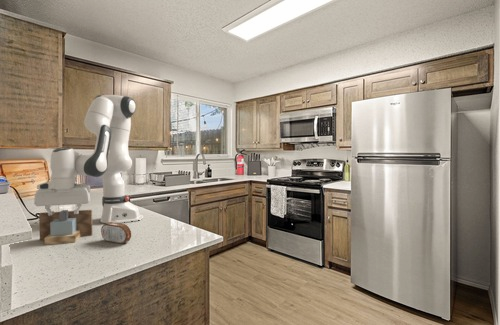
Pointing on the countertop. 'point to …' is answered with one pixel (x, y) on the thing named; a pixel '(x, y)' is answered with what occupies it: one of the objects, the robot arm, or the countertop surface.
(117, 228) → the tin
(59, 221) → the blue block with handle
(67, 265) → the countertop surface
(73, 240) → the brown wooden piece
